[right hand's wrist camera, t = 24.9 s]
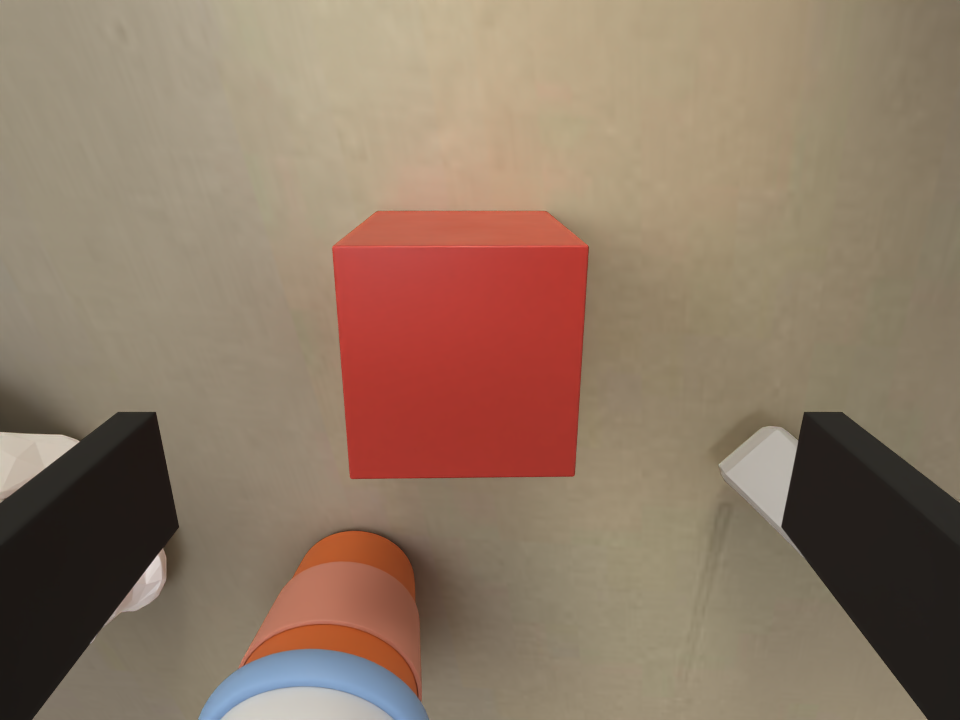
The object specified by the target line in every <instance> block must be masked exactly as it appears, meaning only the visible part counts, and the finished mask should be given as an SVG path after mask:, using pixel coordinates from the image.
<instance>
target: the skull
mask: <svg viewBox="0 0 960 720" xmlns="http://www.w3.org/2000/svg"><path fill="white" fill-rule="evenodd" d="M79 442H80V441H78V440H77V439H74V438H71V437H68V436H65V435H53V434H23V433H7V432H0V503H1V502H2V501H4V498H7V497H9V496H10V495H11V494H13V493H14V492H15V491H17V490H18V489H19V488H20V487H22V486H23V485H24V484H26V483H27V482H28V481H29V480H31V479H32V478H33V477H35V476H36V475H37V474H39V473H40V472H41V471H42V470H44V469H45V468H46V467H48V466H49V465H50V464H51V463H53V462H54V461H55V460H57V459H58V458H59V457H61V456H62V455H63V454H64V453H66V452H67V451H68V450H70V449H71V448H72V447H73V446H75V445H76V444H77V443H79ZM165 582H166V555H165V552H164V549H162V550H161V551H160V553H159V554H158V555H157V556H156V558H155V559H154V560H153V562H152V563H151V564H150V566H149V567H148V568H147V570H146V571H145V572H144V573H143V575H142V576H141V577H140V579H139V580H138V581H137V583H136V584H135V585H134V587H133V588H132V589H131V591H130V592H129V593H128V594H127V596H126V597H125V598H124V600H123V601H122V602H121V604H120V605H119V606H118V608H117V609H116V610H115V611H114V613H113V614H112V615H111V617H110V618H109V619H108V621H107V622H106V623H105V625H106V624H108V623H109V622H110V621H111V620H112V619H114V618H115V617H116V616H117V615H118V614H119V613H121V612H126V611H136V610H138V609H140V608H142V607H144V606H145V605H147V604H149V603H150V602H151V601H153V600H154V599H155V598H156V597H158V596H159V594H160V592H161V590H162V588H163V586H164V584H165ZM105 625H104V626H105ZM104 626H103V627H104ZM99 632H100V631H99ZM99 632H98V633H99ZM96 636H97V635H96ZM96 636H95V637H96ZM94 639H95V638H94ZM94 639H93V640H92V642H93V641H94ZM92 642H91V643H92Z"/></svg>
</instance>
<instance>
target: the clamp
mask: <svg viewBox="0 0 960 720" xmlns="http://www.w3.org/2000/svg"><path fill="white" fill-rule="evenodd" d="M797 445H798V440H797V439H796V438H795V437H794V436H793V435H791V434H790V433H789V432H788V431H786V430H785V429H783V428H782V427H777V426H767V427H761V428H760V429H759V430H758V431H757V432H756V433H754V434H753V435H752V436H751V437H750V438H749V439H747V440H746V441H745V442H744V443H743V444H742V445H740V446H739V447H738V448H737V449H736V450H735V451H733V452H732V453H731V454H730V455H729V456H728V457H727V458H725V459H724V460H723V461H722V462H721V463H720V464H718V465H719V469H720V473H721V475H722V477H723V479H724V480H725V482H726V483H728V484H729V485H730V486H731V487H732V488H733V489H734V490H735V491H736V492H738V493H739V494H740V495H741V496H742V497H743V498H744V499H745V500H746V501H747V502H748V503H749V504H750V505H751V506H752V507H753V508H754V509H755V510H756V511H757V512H758V513H759V514H760V515H761V516H762V517H763V518H764V519H765V520H766V521H767V522H768V523H769V524H770V525H771V526H772V527H773V528H774V529H775V530H776V531H777V532H779V533H780V534H781V535H782V536H783V537H784V538H785V539H786V540H787V541H788V542H789V543H790V544H791V545H792V546H793V547H794V548H795V549H796V550H797V551H798V552H799V553H800V551H799V550H798V549H797V547H796V546H795V545H794V543H793V542H792V541H791V539H790V538H789V537H788V535H787V534H786V533H785V532H784V530H783V529H782V528H781V525H782V520H783V515H784V510H785V505H786V500H787V495H788V490H789V485H790V480H791V475H792V470H793V465H794V460H795V455H796V450H797ZM800 554H801V553H800ZM801 555H802V554H801ZM802 556H803V555H802ZM803 557H804V556H803Z"/></svg>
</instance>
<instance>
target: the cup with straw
mask: <svg viewBox="0 0 960 720" xmlns="http://www.w3.org/2000/svg"><path fill="white" fill-rule="evenodd" d="M421 700H422V681H421V649H420V620H419V613H418V609H417V606H416V604H415V579H414V572H413V569H412V566H411V564H410V562H409V560H408V558H407V556H406V555H405V554H404V552H403V551H402V550H401V549H400V548H399V547H398V546H396V545H395V544H394V543H393V542H391V541H389V540H388V539H386V538H384V537H382V536H379V535H376V534H373V533H369V532H363V531H346V532H340V533H336V534H333V535H330V536H328V537H326V538H324V539H322V540H320V541H319V542H318V543H316V544H315V545H314V546H313V547H312V548H311V549H310V550H309V551H308V552H307V554H306V555H305V557H304V558H303V560H302V562H301V563H300V565H299V567H298V569H297V571H296V572H295V574H294V576H293V578H292V579H291V580H290V581H289V582H288V583H287V584H286V585H285V586H284V587H283V589H282V590H281V592H280V594H279V595H278V597H277V599H276V600H275V602H274V604H273V606H272V607H271V609H270V611H269V613H268V615H267V616H266V618H265V620H264V622H263V624H262V625H261V627H260V629H259V631H258V632H257V634H256V636H255V638H254V640H253V641H252V643H251V645H250V647H249V648H248V650H247V652H246V654H245V656H244V657H243V659H242V661H241V664H240V666H239V668H238V670H236V671H235V672H233V673H232V674H231V675H230V676H229V677H227V678H226V679H225V680H224V681H223V682H222V683H221V684H220V685H219V686H218V687H217V688H216V689H215V691H214V692H213V693H212V695H211V696H210V697H209V699H208V700H207V702H206V704H205V706H204V707H203V709H202V711H201V714H200V716H199V719H198V720H429V718H428V715H427V713H426V710H425V708H424V707H423V705H422V703H421Z"/></svg>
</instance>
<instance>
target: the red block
mask: <svg viewBox="0 0 960 720" xmlns="http://www.w3.org/2000/svg"><path fill="white" fill-rule="evenodd" d="M332 251H333V264H334V277H335V290H336V303H337V315H338V328H339V341H340V354H341V367H342V380H343V393H344V406H345V419H346V432H347V445H348V458H349V471H350V478H351V479H385V478H477V477H570V476H574V475H575V464H576V447H577V431H578V415H579V399H580V382H581V366H582V350H583V333H584V317H585V301H586V284H587V268H588V252H589V247H588V245H587V244H585V243H584V242H583V241H582V240H581V239H579V238H578V237H577V236H576V235H575V234H573V233H572V232H571V231H570V230H568V229H567V228H566V227H565V226H564V225H562V224H561V223H560V222H559V221H558V220H556V219H555V218H554V217H553V216H552V215H550V214H549V213H548V212H547V211H377V212H375V213H374V214H373V215H371V216H370V217H369V218H368V219H366V220H365V221H364V222H363V223H361V224H360V225H359V226H358V227H356V228H355V229H354V230H353V231H351V232H350V233H349V234H348V235H346V236H345V237H344V238H342V239H341V240H340V241H339V242H337V243H336V244H335V245H334V246H333V247H332Z"/></svg>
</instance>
